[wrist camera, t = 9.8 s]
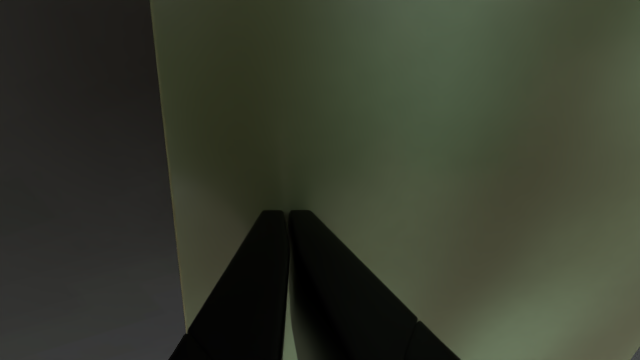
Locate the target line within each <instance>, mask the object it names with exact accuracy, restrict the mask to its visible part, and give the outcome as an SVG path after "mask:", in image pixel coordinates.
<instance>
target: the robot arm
mask: <svg viewBox="0 0 640 360" xmlns="http://www.w3.org/2000/svg"><path fill="white" fill-rule="evenodd" d="M288 282H289V299H290V315H291V325H292V331H293V338H294V343H295V348H296V353H297V359H298V360H461V359H460V358H459V357H458V356H457V355H456V354H455V353H454V352H452V351H451V350H450V349H449V348H448V347H447V346H446V345H445V344H444V343H443V342H442V341H441V340H440V339H439V338H438V337H437V336H436V335H435V334H434V333H433V332H432V331H431V330H430V329H429V328H428V327H427V326H426V325H425V324H424V323H423V322H422V321H418V318H417V316H416V315H415V314H414V313H413V312H412V311H411V310H410V309H409V308H408V307H407V306H406V305H405V304H404V303H403V302H402V301H401V300H400V299H399V298H398V297H397V296H396V295H395V294H394V293H393V292H392V291H391V290H390V289H389V288H388V287H387V286H386V285H385V284H384V283H383V282H382V281H381V280H380V279H379V278H378V277H377V276H376V275H375V274H374V273H373V272H372V271H371V270H370V269H369V268H368V267H367V266H366V265H365V264H364V263H363V262H362V261H361V260H360V259H359V258H358V257H357V256H356V255H355V254H354V253H353V252H352V251H351V250H350V249H349V248H348V247H347V246H346V245H345V244H344V243H343V242H342V241H341V240H340V239H339V238H338V237H337V236H336V235H335V234H334V233H333V232H332V231H331V230H330V229H329V228H328V227H327V226H326V225H325V224H324V223H323V222H322V221H321V220H320V219H319V218H318V217H317V216H316V215H315V214H314V213H313V212H312V211H310V210H291V211H290V213H289V218H288V233H287V227H286V221H285V215H284V212H283V211H281V210H264V211H262V212H261V213H260V215H259V216H258V218H257V220H256V221H255V223H254V224H253V226H252V228H251V229H250V231H249V232H248V234H247V236H246V237H245V239H244V240H243V242H242V244H241V245H240V247H239V248H238V250H237V252H236V253H235V255H234V256H233V258H232V260H231V261H230V263H229V264H228V266H227V268H226V269H225V271H224V272H223V274H222V276H221V277H220V279H219V280H218V282H217V284H216V285H215V287H214V288H213V290H212V292H211V293H210V295H209V296H208V298H207V300H206V301H205V303H204V304H203V306H202V308H201V309H200V311H199V312H198V314H197V316H196V317H195V319H194V320H193V322H192V324H191V325H190V327H189V328H188V330H187V333H186V334H185V335H184V336H183V338H182V339H181V341H180V342H179V344H178V346H177V347H176V349H175V350H174V352H173V354H172V355H171V357H170V358H169V359H168V360H283V351H284V338H285V323H286V308H287V293H288ZM417 321H418V322H417Z"/></svg>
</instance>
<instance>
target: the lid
mask: <svg viewBox="0 0 640 360" xmlns="http://www.w3.org/2000/svg"><path fill="white" fill-rule="evenodd" d="M149 2H150V11H151V20H152V29H153V38H154V47H155V56H156V65H157V74H158V83H159V92H160V101H161V110H162V119H163V129H164V138H165V147H166V156H167V165H168V174H169V183H170V192H171V201H172V210H173V219H174V228H175V237H176V247H177V256H178V265H179V274H180V283H181V292H182V301H183V310H184V319H185V328H186V333H187V330H188V328H189V327H190V325H191V324H192V322H193V320H194V319H195V317H196V316H197V314H198V312H199V311H200V309H201V308H202V306H203V304H204V303H205V301H206V300H207V298H208V296H209V295H210V293H211V292H212V290H213V288H214V287H215V285H216V284H217V282H218V280H219V279H220V277H221V276H222V274H223V272H224V271H225V269H226V268H227V266H228V264H229V263H230V261H231V260H232V258H233V256H234V255H235V253H236V252H237V250H238V248H239V247H240V245H241V244H242V242H243V240H244V239H245V237H246V236H247V234H248V232H249V231H250V229H251V228H252V226H253V224H254V223H255V221H256V220H257V218H258V216H259V215H260V213H261V212H262V211H264V210H281V211H283V212H284V215H285V221H286V227H287V233H288V218H289V213H290V211H291V210H310V211H312V212H313V213H314V214H315V215H316V216H317V217H318V218H319V219H320V220H321V221H322V222H323V223H324V224H325V225H326V226H327V227H328V228H329V229H330V230H331V231H332V232H333V233H334V234H335V235H336V236H337V237H338V238H339V239H340V240H341V241H342V242H343V243H344V244H345V245H346V246H347V247H348V248H349V249H350V250H351V251H352V252H353V253H354V254H355V255H356V256H357V257H358V258H359V259H360V260H361V261H362V262H363V263H364V264H365V265H366V266H367V267H368V268H369V269H370V270H371V271H372V272H373V273H374V274H375V275H376V276H377V277H378V278H379V279H380V280H381V281H382V282H383V283H384V284H385V285H386V286H387V287H388V288H389V289H390V290H391V291H392V292H393V293H394V294H395V295H396V296H397V297H398V298H399V299H400V300H401V301H402V302H403V303H404V304H405V305H406V306H407V307H408V308H409V309H410V310H411V311H412V312H413V313H414V314H415V315H416V316H417V318H418V321H422V322H423V323H424V324H425V325H426V326H427V327H428V328H429V329H430V330H431V331H432V332H433V333H434V334H435V335H436V336H437V337H438V338H439V339H440V340H441V341H442V342H443V343H444V344H445V345H446V346H447V347H448V348H449V349H450V350H451V351H452V352H454V353H455V354H456V355H457V356H458V357H459V358H460V359H461V360H630V359H631V358H632V357H633V355H634V354H635V352H636V351H637V350H638V348H639V347H640V0H149ZM418 321H417V322H418ZM283 360H298V359H297V353H296V348H295V343H294V338H293V331H292V325H291V315H290V299H289V282H288V293H287V308H286V323H285V338H284V351H283Z"/></svg>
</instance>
